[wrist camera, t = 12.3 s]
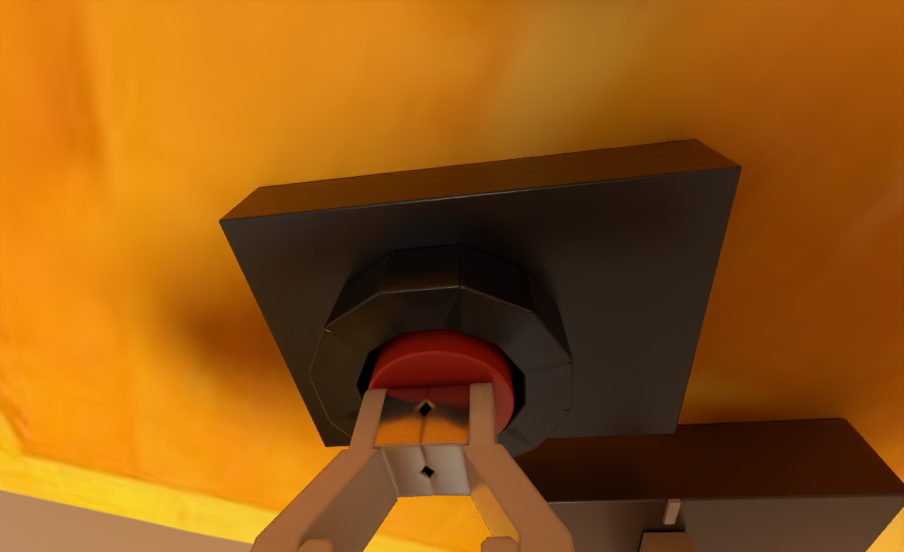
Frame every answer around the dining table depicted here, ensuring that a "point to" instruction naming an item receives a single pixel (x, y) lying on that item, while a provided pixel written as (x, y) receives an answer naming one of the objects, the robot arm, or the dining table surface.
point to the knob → (666, 542)
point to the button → (445, 365)
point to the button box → (500, 279)
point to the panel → (720, 487)
